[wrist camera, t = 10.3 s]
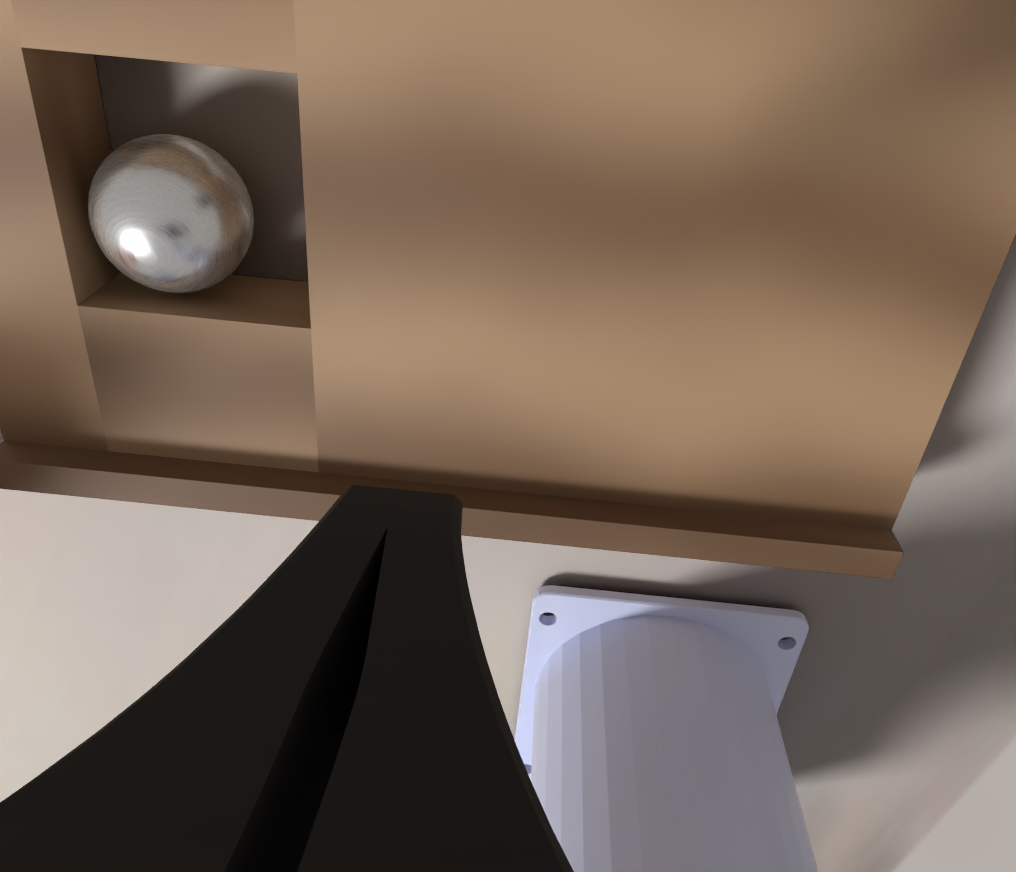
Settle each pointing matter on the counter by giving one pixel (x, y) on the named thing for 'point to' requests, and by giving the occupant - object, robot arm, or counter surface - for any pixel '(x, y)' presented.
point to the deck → (532, 267)
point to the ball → (170, 213)
